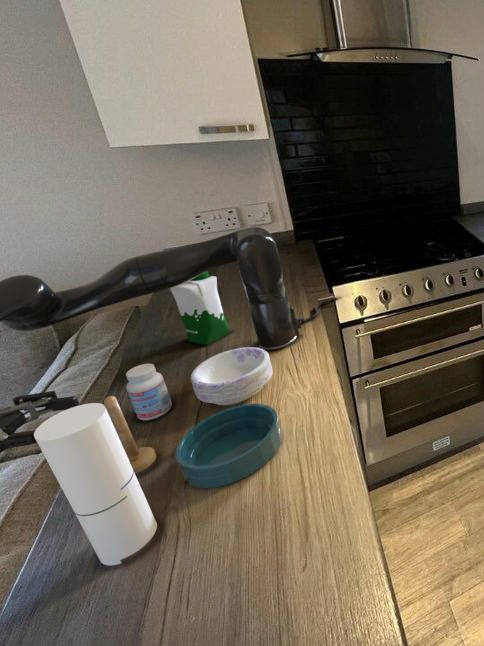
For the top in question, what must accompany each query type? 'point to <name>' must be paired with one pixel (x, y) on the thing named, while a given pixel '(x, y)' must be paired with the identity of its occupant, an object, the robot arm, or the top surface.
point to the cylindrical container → (97, 480)
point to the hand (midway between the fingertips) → (59, 418)
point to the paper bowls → (232, 376)
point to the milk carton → (201, 309)
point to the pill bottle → (147, 392)
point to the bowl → (229, 445)
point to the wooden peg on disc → (129, 438)
